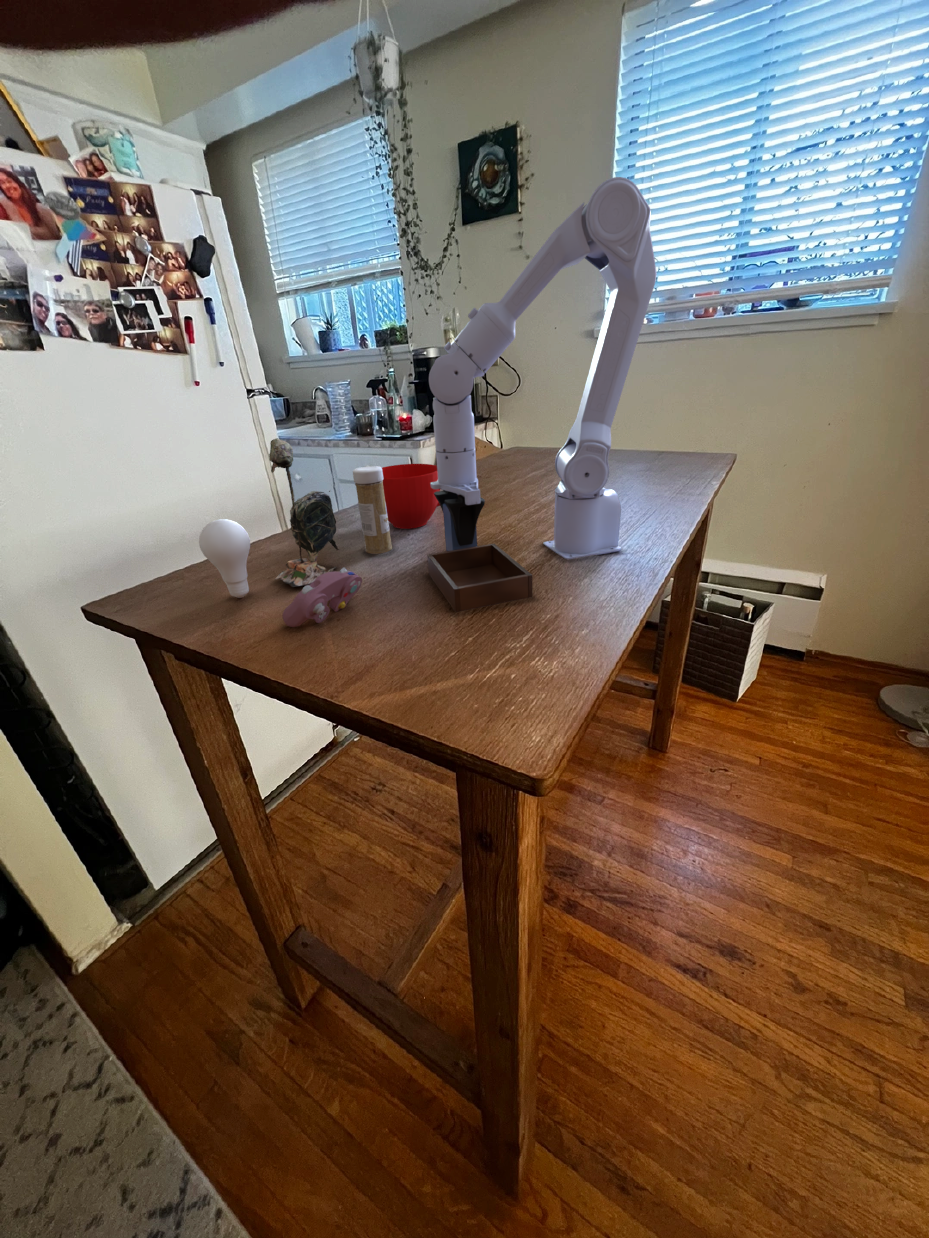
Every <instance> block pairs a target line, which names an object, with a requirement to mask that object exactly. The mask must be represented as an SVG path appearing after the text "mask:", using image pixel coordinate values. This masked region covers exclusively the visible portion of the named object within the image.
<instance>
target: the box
mask: <svg viewBox="0 0 929 1238" xmlns="http://www.w3.org/2000/svg"><path fill="white" fill-rule="evenodd" d="M426 559H427V568H428V575H429V577H430V578H431V579H432V581H433V582H434V584H435V585H436V586H437V588H438V589H439V591H440V592H441V593H442V595H443V596H444V598H445V599H446V601H447V602H448V603H449V605H450V607H451V608H452V610H453V611H454V612H455V613H460V612H465V611H469V610H475V609H480V608H485V607H490V606H495V605H499V604H500V605H501V604H505V603H510V602H515V601H521V600H525V599H530V598H533V574H532V573H531V572H529V570H527V569H526V568H525V567H524V566H522V565H521V564H520V563H519V562H518V561H517V560H515V559H514V558H512V556H511V555H509V554H508V553H506V552H505V551H504V549H501V547H500V546H498V545H497V544H496V543H489V544H483V545H477V546H476V547H470V548H464V549H458V550H452V551H446V550H445V551H441V552H433V553H428V554H427V555H426Z"/></svg>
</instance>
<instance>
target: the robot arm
mask: <svg viewBox="0 0 929 1238" xmlns="http://www.w3.org/2000/svg"><path fill="white" fill-rule="evenodd" d="M651 216H652V209H651V207H650V206H649V204H648V201H646V198H645V197H644V195H643V193H642V192H641V190H640V189H639V187H638V185H636V184H635V182H633V181H632V180H630V179H629V178H626V177H623V176H614V177H611V178H607V179H606V180H604V181H603V182H601V184H599V185H598V186H597V187H596V188H595V190H594V191H593V193H592V194H591V196H590V198H589V199H588V202H587V203H586V204H585V202H584V201H583V202H582V203H581V204H580V205H579V206H577V208H576V209H574V211H572V212H571V213H570V214H569V216H567V217H566V219H564V220H563V221H562V222H561V224H559V225H558V227H556V228H555V229H554V230H553V231H552V233H551V234H550V235H549V237H548V238H547V239H546V241H545V242H544V243H543V244H542V246H541V247H540V248H539V250H538V251H537V252H536V254H535V255H534V256H533V257H532V258H531V259H530V261H529V262H528V264H527V265H526V266H525V268H524V269H523V270H522V272H521V273H520V274H519V275H518V277H517V278H516V279H515V281H514V282H513V283H512V285H511V286H510V287H509V288H508V290H507V291H506V292H505V293H504V295H503V296H502V297H501V298H500V300H499V301H498V302H484V303H482V305H481V306H480V307H479V308H478V309H477V308H476V307H473V308H472V309H471V311H470V312H469V313H468V315H467V317H468V319H469V321H468V322H467V323H466V325H465V326H464V327H463V328H462V329H461V331H460V332H459V333H458V335H457V336H456V337H455V338H454V340H453V341H452V342H450V341H447V343H446V344H445V345H444V346H443V349H444V350H445V351H446V352H447V354H443V355H440V356H439V357H437V358H436V359H435V360H434V363H433V365H432V366H431V368H430V370H429V374H428V385H429V389H430V391H431V393H432V394H433V396H434V397H433V398H432V399H433V401H432V410H433V413H434V415H433V417H432V421H433V422H432V423H433V433H434V446H435V457H436V458H435V459H436V466H437V472H438V480H437V481H436V482H431V483H430V484H431V488H432V489H440V491H438V492H435V493H434V495H435V497H436V499H437V500H438V502H439V504H440V506H439V507H440V508H441V511H442V512H443V504H446V506H447V508H448V509H449V512H450V514H451V517H452V520H453V523H454V528H455V533H456V538H457V541H458V544H459V545H460V546H463V545H469V544H473V540H474V535H475V529H476V530H477V524H478V519H479V517H480V514H481V511H482V510H483V508H484V506H485V504H486V500H485V499H484V498H483V497H481V489H480V488H479V478H478V476H477V453H476V434H475V433H476V432H475V431H476V430H475V416H474V413H473V411H472V395H471V393H472V391H473V388H474V382H475V381H474V379H476V378H479V377H481V378H482V377H484V376H485V374H486V373H487V372H488V371H489V370H490V368H492V367H493V365H494V364H495V363H496V362H497V360H498V359H499V358H500V357H501V356H502V354H503V353H504V352H505V351H506V350H507V348H509V346H511V344H512V343H513V341H514V340H516V322H517V320H518V319H519V318H520V316H521V315H522V314H523V313H524V312H525V311H526V310H527V308H528V307H529V306H530V305H531V304H532V303H533V302H534V300H535V299H537V297H538V296H540V294H541V293H542V291H544V289H545V288H546V287H547V286H548V285H549V284H550V282H551V281H552V280H553V279H554V278H555V277H556V276H557V275H558V273H559V272H560V271H562V270H564V269H566V268H570V267H573V266H575V265H576V266H577V265H578V264H580V263H581V262H582V261H583V260H584V259H585V260H586V261H587V262H589V263H590V264H591V265H592V266H594V267H595V268H596V269H597V270H598V271H599V273H600V275H601V277H602V278H603V281H604V282H605V284H606V285H607V287H608V289H609V293H610V294H609V298H608V301H607V305H606V308H605V313H604V316H603V318H602V319H603V320H602V322H601V326H600V330H599V334H598V338H597V341H596V344H595V349H594V352H593V356H592V359H591V363H590V367H589V370H588V374H587V378H586V382H585V386H584V389H583V392H582V396H581V399H580V403H579V406H578V411H577V415H576V417H575V420H574V423H573V425H572V426H571V428H570V430H569V432H568V436H567V438H566V441H565V443H564V444H563V446H562V447H561V448H559V451H558V452H557V454H556V456H555V459H554V468H555V472H556V474H557V476H558V477H559V478H560V481H559V484H558V485H557V486H556V488H555V489H554V520H553V521H554V522H553V540H548V541H543V544H542V545H544V546H545V547H546V548H548V549H549V550H551V551H553V552H554V553H555V554H557V556H560V557H562V558H563V559H564V560H574V559H577V558H585V557H590V556H595V555H596V556H600V555H606V554H610V553H611V554H612V553H615V552H620V551H621V550H622V548H621V546H619V541H620V529H621V528H620V527H621V520H622V519H621V517H622V504H621V500H620V497H619V495H618V493H617V492H616V491H615V490H614V489H611V488H606V487H605V486H606V485H607V483H608V480H609V477H610V465H609V455H610V451H611V448H612V431H611V430H612V426H613V422H614V419H615V415H616V412H617V410H618V406H619V402H620V400H621V396H622V393H623V389H624V386H625V383H626V380H627V377H628V373H629V370H630V366H631V364H632V360H633V357H634V354H635V350H636V347H637V344H638V341H639V337H640V334H641V331H642V328H643V324H644V321H645V318H646V315H647V311H648V308H649V304H650V302H651V298H652V295H653V292H654V288H655V285H656V282H657V266H656V260H655V253H654V246H653V241H652V233H651V218H652V217H651Z"/></svg>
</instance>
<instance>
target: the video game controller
mask: <svg viewBox="0 0 929 1238" xmlns="http://www.w3.org/2000/svg"><path fill="white" fill-rule="evenodd" d="M326 572H327V573H324V574H321V575H320V576H318V577H317V578H316V579H315V580H314V581H313V582H312V583H310V584H306V585H304V587H302V589H301V590H300V591H299V592H298V593H297V594H296V596H295V597H294V599H293V600H292V602H290V603H289V604H288V605H287V606H286V607H285V608H284V610H283V611H282V620H283V622H284V624H285V625H286V626H287V627H290V628H297V627H300V626H301V625H303V624H304V623H305V622H307V621H309V620H313V621H314V622H315V623H317V624H320V623H323V621H325V620H326V619H327V618H328V616H329V614H330V610H331V609H332V610H333V611H334V612H339V611H340V610H342V609H345V607H347V605H348V604H349V601H350V600H351V599H352V598H353V597H354V596H355V595H356V594H357V592H358V591H359V590H360V588H362V587H361V586H362V583H363V578H362V577H361V576H360V575H358V574H357V573H355V572H354V571H351V570H348V569H347V568H346V567H342V568H341V569H340V570H339V571H335V570H333V571H332V572H328V571H326Z"/></svg>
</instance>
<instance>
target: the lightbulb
mask: <svg viewBox="0 0 929 1238" xmlns="http://www.w3.org/2000/svg"><path fill="white" fill-rule="evenodd" d="M198 545H199V549H200V552H201V554H203V556H204V557H205V558H206V560H207V561H209V562H210V563H211V564H212V565H213V566H214V567H215V568H216V570H217V571H218V572H219V574H220V577H221V579H222V581H223V582H224V583H225V585H226V587H227V590H228V593H229V596H231V597H235V598H237V599H242V598H245V597H246V595H248V593H249V592H250V587H249V583H248V576H249V575H248V571H247V562H248V558H249V553H250V550H251V539H250V534H249V533H248V531H247V530H246V529H245V527H243V526H242V525H241V524H240V523H239V522H236V521H234V520H232V519H227V518H220V519H218V518H217V519H215V520H212V521H210V522H209V523H207V524H206V525H205V526H204V527H202V529H201V531H200V533H199V537H198Z"/></svg>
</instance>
